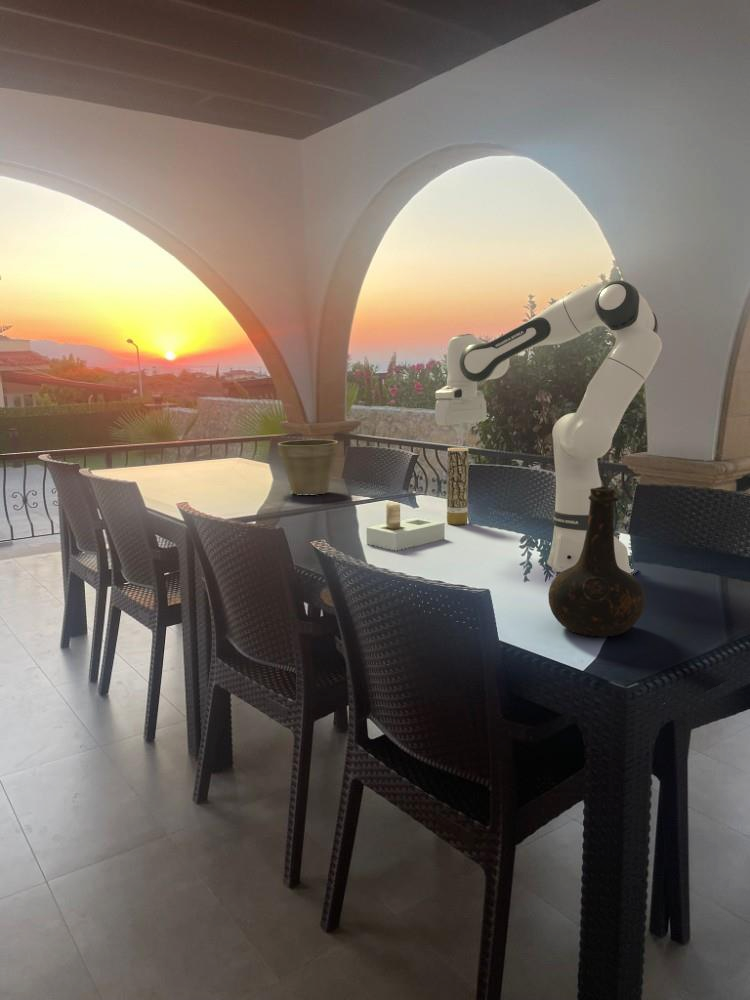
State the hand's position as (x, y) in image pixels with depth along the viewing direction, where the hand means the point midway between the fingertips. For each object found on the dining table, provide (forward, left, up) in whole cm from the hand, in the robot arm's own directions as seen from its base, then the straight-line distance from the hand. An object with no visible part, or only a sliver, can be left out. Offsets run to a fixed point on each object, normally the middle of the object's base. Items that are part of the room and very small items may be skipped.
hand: (462, 438), depth 215 cm
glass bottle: (-69, +44, -31) cm, 87 cm away
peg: (+9, +20, -30) cm, 37 cm away
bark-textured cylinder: (+15, -16, -30) cm, 38 cm away
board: (+9, +15, -30) cm, 35 cm away
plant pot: (+99, -21, -30) cm, 106 cm away
